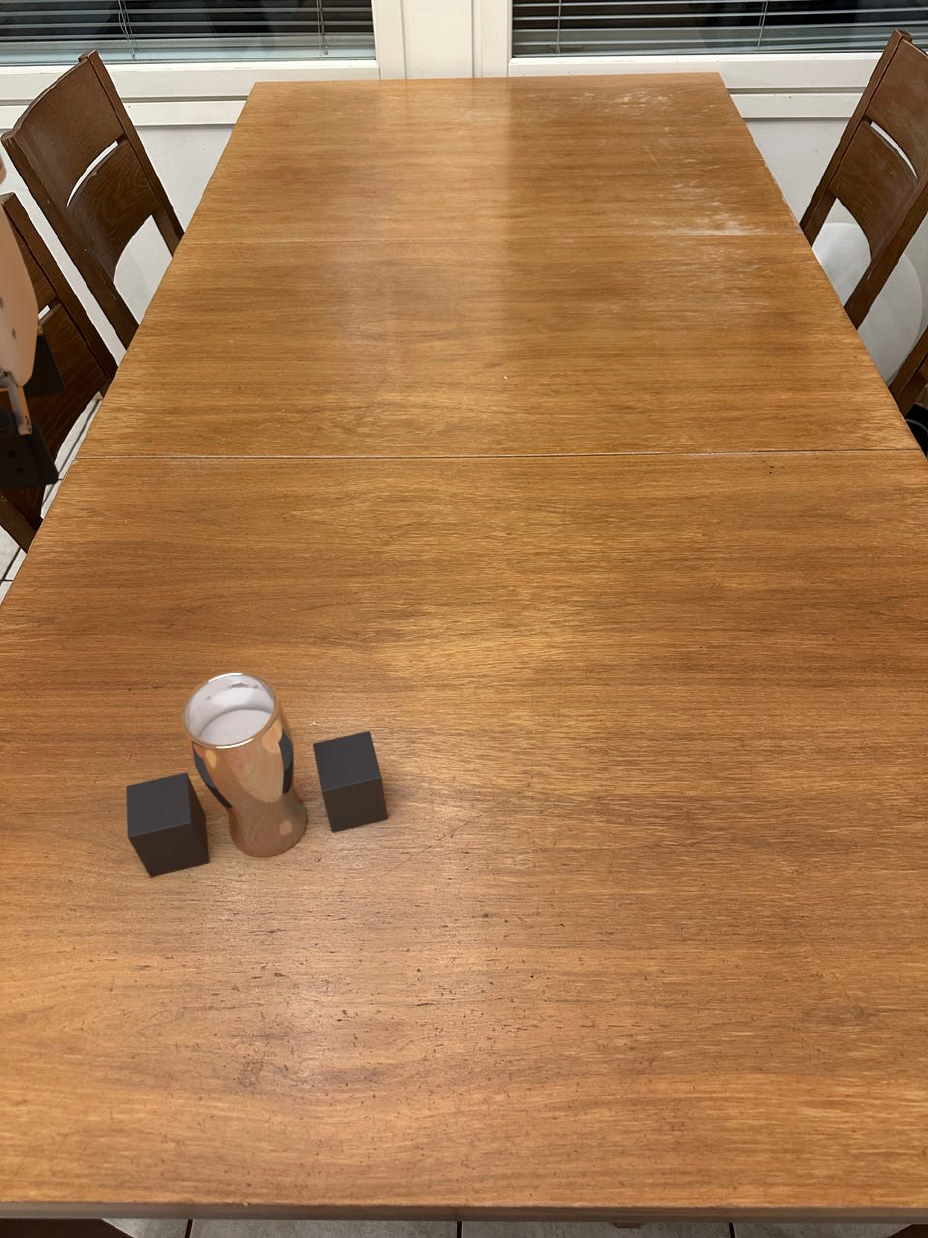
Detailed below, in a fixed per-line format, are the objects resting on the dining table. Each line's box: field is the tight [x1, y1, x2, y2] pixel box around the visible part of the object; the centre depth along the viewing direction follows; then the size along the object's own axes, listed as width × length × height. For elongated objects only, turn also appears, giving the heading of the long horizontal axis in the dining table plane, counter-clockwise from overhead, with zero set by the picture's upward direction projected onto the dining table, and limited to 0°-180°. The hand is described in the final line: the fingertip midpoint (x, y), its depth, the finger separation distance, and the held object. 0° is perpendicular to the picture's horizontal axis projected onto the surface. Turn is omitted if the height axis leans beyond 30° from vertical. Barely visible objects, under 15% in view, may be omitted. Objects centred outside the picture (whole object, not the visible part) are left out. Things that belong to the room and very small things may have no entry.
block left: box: [125, 772, 210, 878], centre depth 71 cm, size 4×4×6 cm
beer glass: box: [180, 670, 308, 858], centre depth 69 cm, size 7×7×15 cm
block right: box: [312, 730, 389, 833], centre depth 74 cm, size 4×4×6 cm
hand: (37, 436), depth 60 cm, fingers open, 9 cm apart
